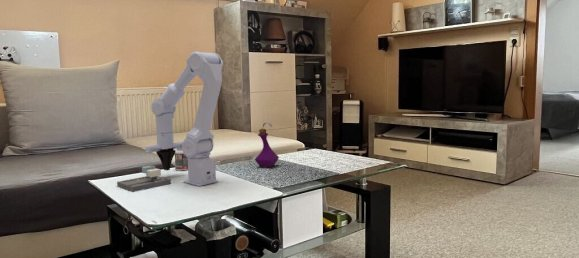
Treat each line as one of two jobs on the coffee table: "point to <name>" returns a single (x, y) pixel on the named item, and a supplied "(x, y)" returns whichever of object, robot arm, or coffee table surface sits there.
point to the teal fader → (144, 169)
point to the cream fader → (153, 173)
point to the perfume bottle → (266, 151)
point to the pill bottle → (180, 160)
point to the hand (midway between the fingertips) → (166, 169)
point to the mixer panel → (143, 183)
